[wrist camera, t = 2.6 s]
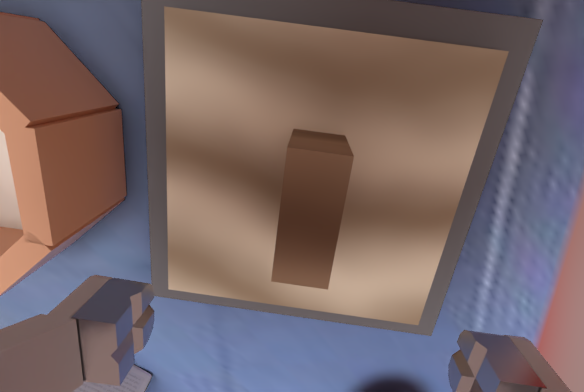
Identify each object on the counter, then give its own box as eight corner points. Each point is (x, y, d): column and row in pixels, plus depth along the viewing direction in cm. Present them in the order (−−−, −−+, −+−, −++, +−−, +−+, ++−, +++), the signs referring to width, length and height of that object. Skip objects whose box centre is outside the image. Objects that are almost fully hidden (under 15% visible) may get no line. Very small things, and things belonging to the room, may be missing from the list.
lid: (173, 10, 16) (112, -14, 11) (497, 52, 15) (575, 46, 11) (174, 279, 21) (135, 339, 16) (413, 313, 21) (441, 385, 16)
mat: (146, -29, 16) (140, -32, 15) (534, 21, 15) (543, 19, 15) (156, 289, 22) (151, 295, 22) (428, 329, 22) (431, 335, 21)
